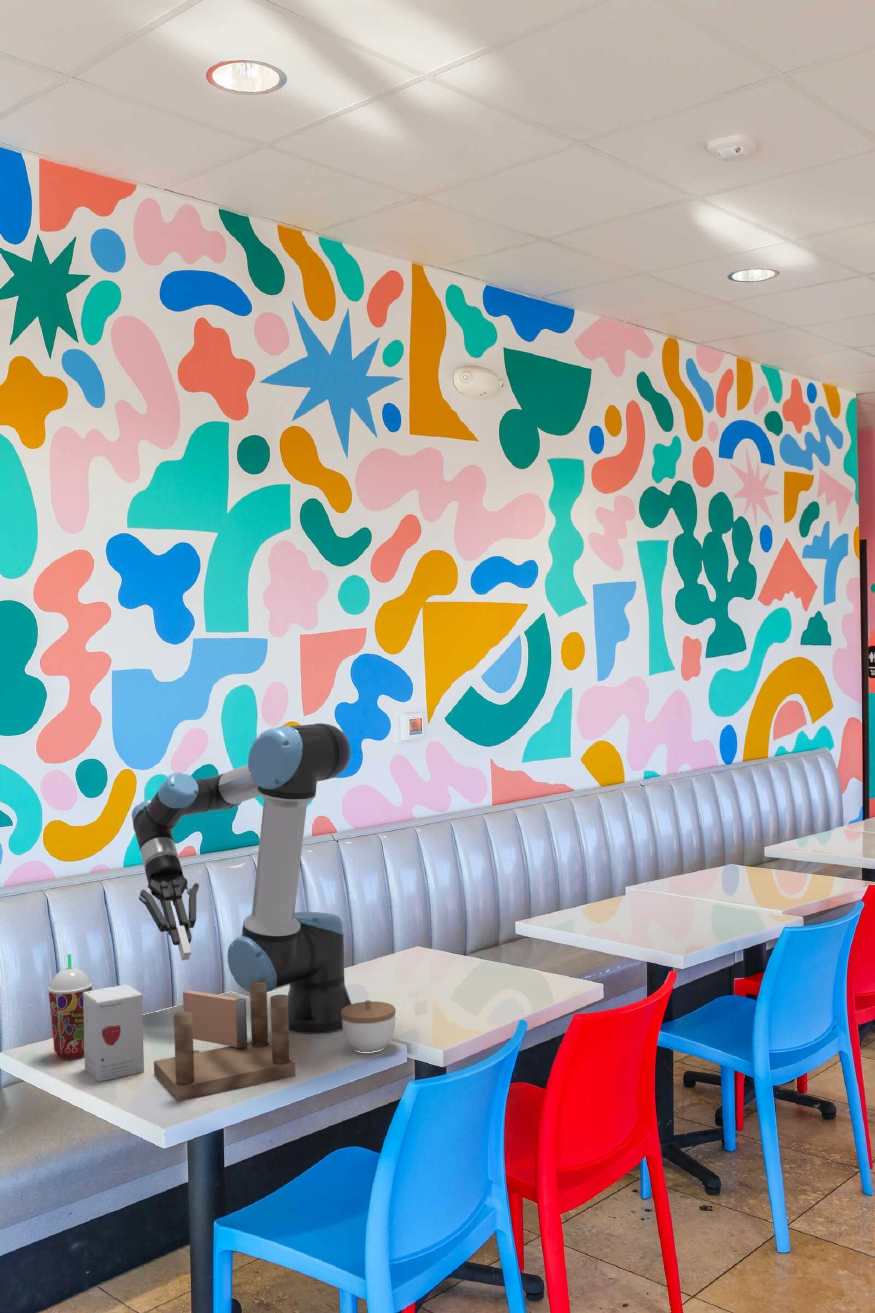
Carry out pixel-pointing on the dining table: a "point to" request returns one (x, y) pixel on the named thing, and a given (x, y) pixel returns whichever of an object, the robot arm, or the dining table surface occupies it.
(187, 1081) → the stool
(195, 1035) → the leg panel
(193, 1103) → the dining table surface
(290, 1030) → the robot arm
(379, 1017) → the lidded jar
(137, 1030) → the supplement box
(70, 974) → the smoothie
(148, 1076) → the dining table surface
